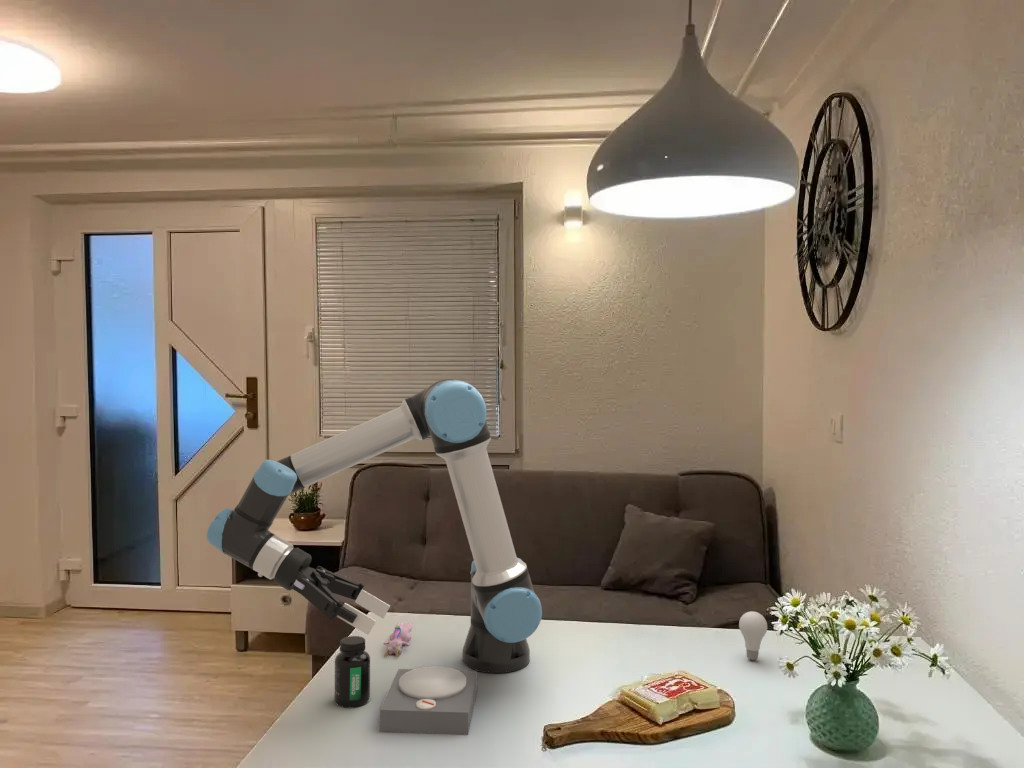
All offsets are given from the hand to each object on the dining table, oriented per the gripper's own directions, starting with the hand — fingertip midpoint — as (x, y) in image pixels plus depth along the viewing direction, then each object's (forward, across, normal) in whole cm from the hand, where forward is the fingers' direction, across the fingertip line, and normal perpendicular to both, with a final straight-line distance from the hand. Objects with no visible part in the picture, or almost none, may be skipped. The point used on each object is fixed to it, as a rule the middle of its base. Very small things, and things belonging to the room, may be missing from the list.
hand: (380, 619), depth 143 cm
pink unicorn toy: (+4, -36, -13) cm, 38 cm away
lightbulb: (+76, -33, +24) cm, 86 cm away
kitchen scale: (+17, -4, -11) cm, 20 cm away
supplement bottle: (+2, -7, -18) cm, 20 cm away
